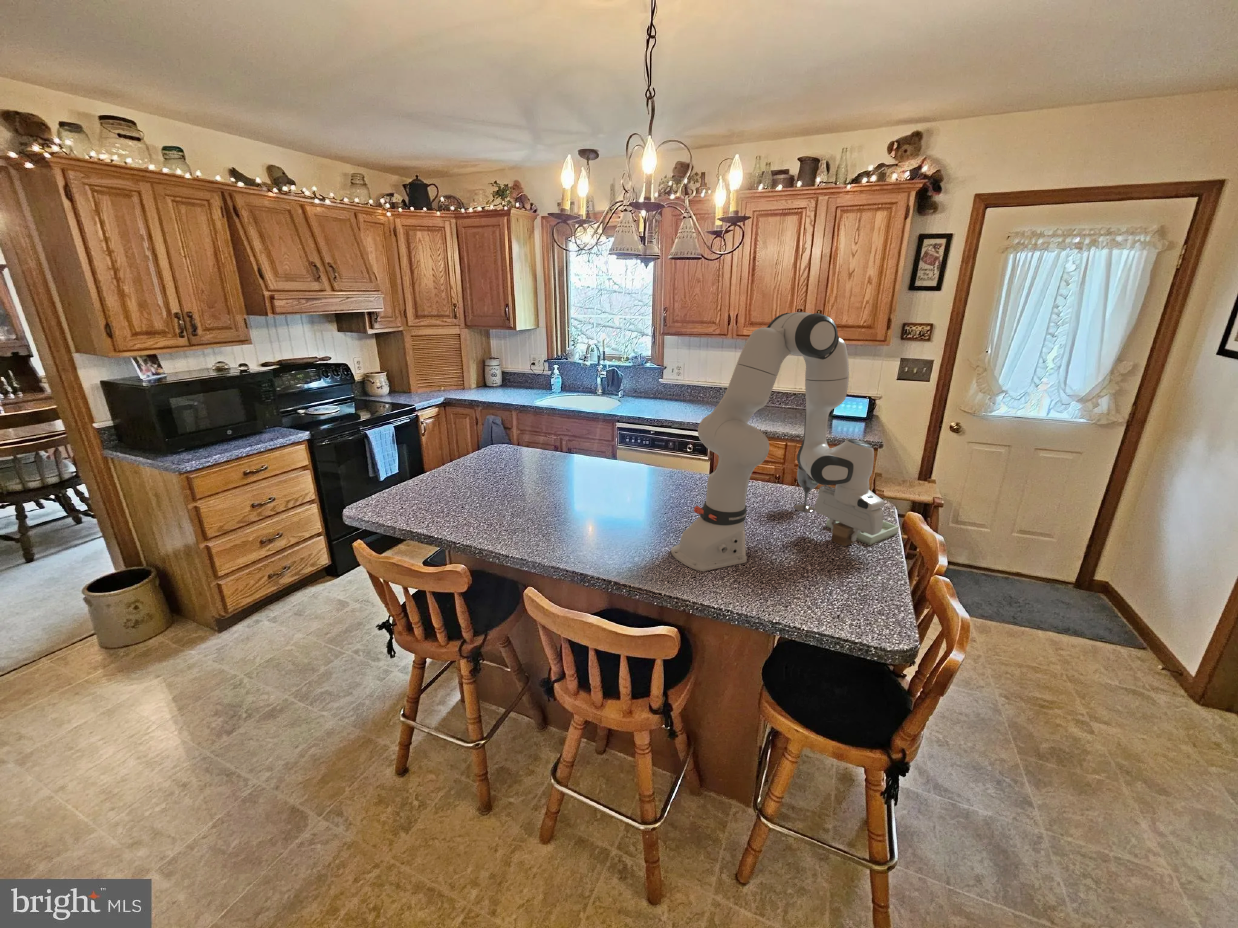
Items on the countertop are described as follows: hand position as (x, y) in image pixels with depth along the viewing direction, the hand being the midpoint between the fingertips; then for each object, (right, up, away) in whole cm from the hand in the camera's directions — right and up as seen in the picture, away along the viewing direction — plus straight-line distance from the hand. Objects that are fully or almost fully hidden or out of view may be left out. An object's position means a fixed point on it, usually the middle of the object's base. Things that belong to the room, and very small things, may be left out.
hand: (843, 536), depth 150 cm
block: (0, -2, +1) cm, 2 cm away
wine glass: (-2, +6, +25) cm, 26 cm away
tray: (+10, +1, +9) cm, 14 cm away
